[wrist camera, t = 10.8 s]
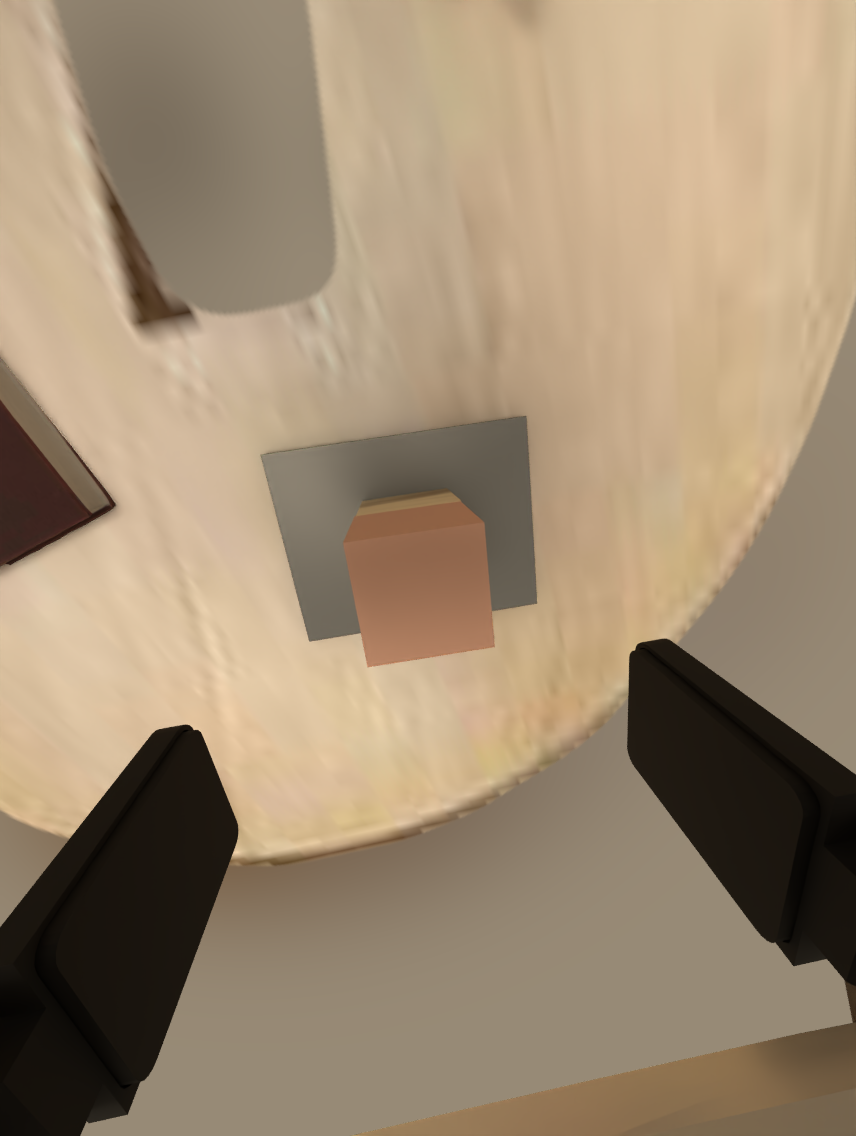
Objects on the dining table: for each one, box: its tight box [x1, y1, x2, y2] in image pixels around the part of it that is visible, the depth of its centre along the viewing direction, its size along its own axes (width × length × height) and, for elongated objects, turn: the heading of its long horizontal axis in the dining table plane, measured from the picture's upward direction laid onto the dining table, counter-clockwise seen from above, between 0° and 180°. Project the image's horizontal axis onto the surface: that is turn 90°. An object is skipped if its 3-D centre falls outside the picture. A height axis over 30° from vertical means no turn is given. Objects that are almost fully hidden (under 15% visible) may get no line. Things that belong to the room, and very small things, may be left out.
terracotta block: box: [343, 501, 495, 667], centre depth 21 cm, size 6×6×6 cm
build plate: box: [261, 416, 537, 642], centre depth 30 cm, size 14×18×1 cm
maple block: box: [356, 488, 461, 516], centre depth 26 cm, size 6×6×6 cm
